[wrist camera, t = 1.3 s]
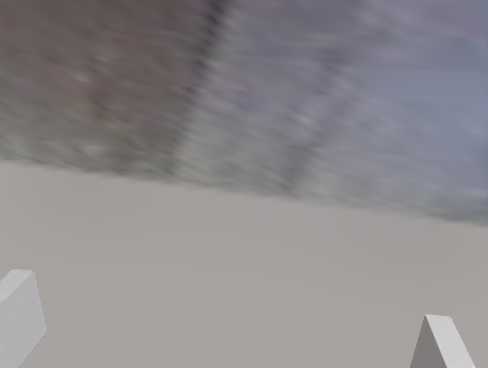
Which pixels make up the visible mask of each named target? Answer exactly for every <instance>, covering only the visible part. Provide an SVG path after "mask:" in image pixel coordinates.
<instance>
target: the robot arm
mask: <svg viewBox="0 0 488 368" xmlns="http://www.w3.org/2000/svg"><path fill="white" fill-rule="evenodd" d="M46 332H47V328H46V323H45V319H44V315H43V310H42V305H41V301H40V296H39V292H38V287H37V283H36V278H35V273H34V271H29V270H21V269H12V270H11V271H10V272H9V273H8V274H7V275H6V276H5V277H4V278H3V279H2V280H0V368H19V367H20V366H21V364H22V363H23V362H24V360H25V359H26V358H27V357H28V355H29V354H30V353H31V351H32V350H33V349H34V348H35V346H36V345H37V344H38V342H39V341H40V340H41V339H42V337H43V336H44V335H45V333H46ZM410 368H475V366H474V364H473V362H472V360H471V358H470V356H469V354H468V352H467V350H466V348H465V346H464V344H463V341H462V340H461V337H460V335H459V333H458V331H457V330H456V327H455V325H454V323H453V321H452V319H451V317H444V316H436V315H427V314H425V317H424V320H423V324H422V327H421V331H420V334H419V338H418V342H417V345H416V348H415V352H414V356H413V359H412V363H411V366H410Z"/></svg>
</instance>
